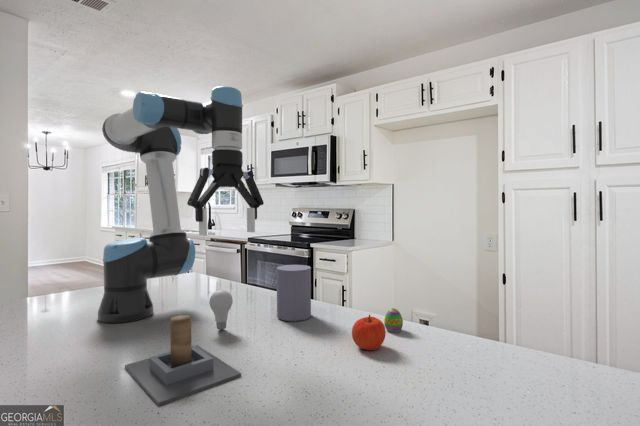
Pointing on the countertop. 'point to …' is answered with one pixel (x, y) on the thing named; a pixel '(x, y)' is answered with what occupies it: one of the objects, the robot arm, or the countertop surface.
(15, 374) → the countertop surface
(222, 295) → the lightbulb
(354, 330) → the apple
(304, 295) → the container
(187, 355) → the peg
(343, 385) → the countertop surface
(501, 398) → the countertop surface
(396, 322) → the egg
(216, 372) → the socket
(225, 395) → the countertop surface
